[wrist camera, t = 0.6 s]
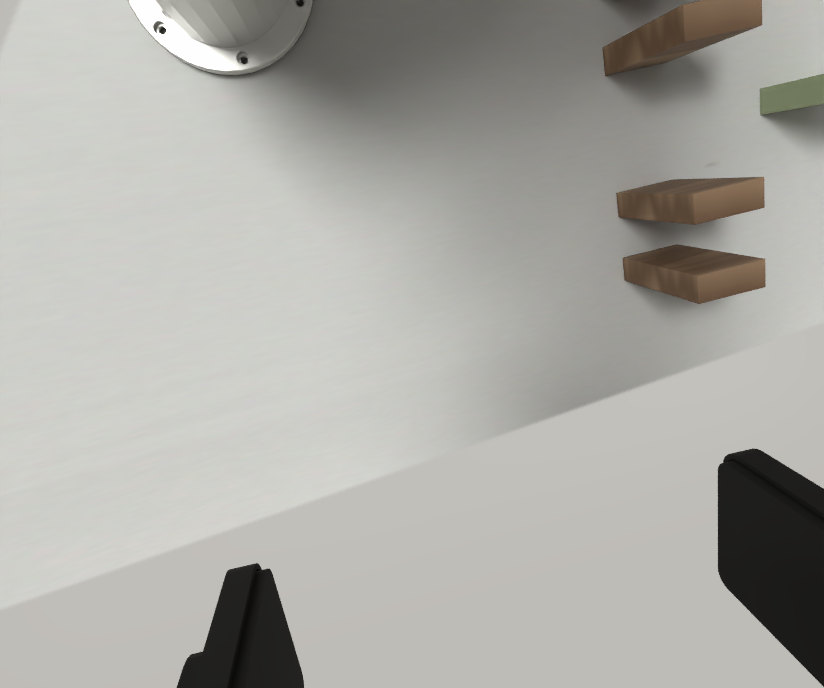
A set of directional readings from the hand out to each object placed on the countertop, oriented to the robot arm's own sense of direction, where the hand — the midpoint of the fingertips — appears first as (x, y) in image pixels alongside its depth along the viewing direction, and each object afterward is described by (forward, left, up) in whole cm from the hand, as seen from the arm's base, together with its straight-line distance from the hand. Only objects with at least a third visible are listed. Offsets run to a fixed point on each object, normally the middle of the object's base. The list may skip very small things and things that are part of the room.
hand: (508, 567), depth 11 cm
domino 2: (-2, +23, -35) cm, 42 cm away
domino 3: (+4, +23, -35) cm, 42 cm away
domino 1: (-13, +23, -35) cm, 44 cm away
